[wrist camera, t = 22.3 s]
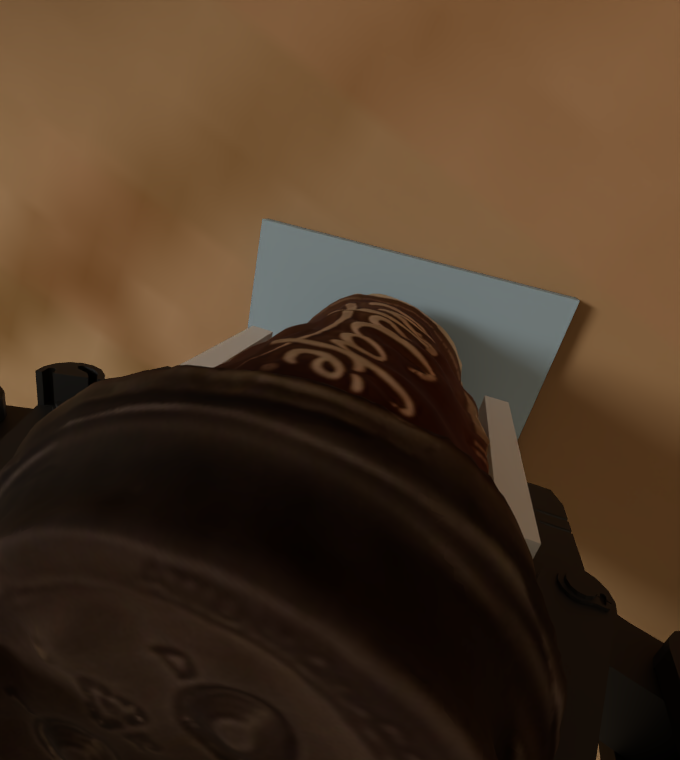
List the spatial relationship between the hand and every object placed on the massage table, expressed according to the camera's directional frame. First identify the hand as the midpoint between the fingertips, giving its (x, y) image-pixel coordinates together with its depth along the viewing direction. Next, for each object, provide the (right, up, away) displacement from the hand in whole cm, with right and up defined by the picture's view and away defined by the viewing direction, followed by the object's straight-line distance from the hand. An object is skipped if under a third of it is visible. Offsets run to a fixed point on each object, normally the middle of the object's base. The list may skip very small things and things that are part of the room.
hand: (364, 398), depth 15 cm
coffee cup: (0, +1, +2) cm, 2 cm away
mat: (+1, +1, +3) cm, 4 cm away
